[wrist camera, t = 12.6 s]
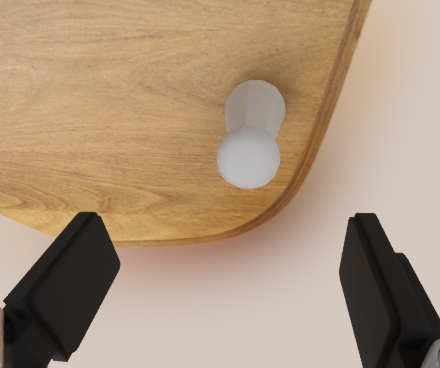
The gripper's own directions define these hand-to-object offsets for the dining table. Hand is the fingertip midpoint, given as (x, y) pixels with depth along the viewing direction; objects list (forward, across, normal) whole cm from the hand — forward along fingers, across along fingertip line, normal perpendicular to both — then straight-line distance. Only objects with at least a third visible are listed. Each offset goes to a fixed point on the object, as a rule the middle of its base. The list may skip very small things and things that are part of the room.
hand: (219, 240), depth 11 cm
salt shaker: (+21, -1, +2) cm, 21 cm away
